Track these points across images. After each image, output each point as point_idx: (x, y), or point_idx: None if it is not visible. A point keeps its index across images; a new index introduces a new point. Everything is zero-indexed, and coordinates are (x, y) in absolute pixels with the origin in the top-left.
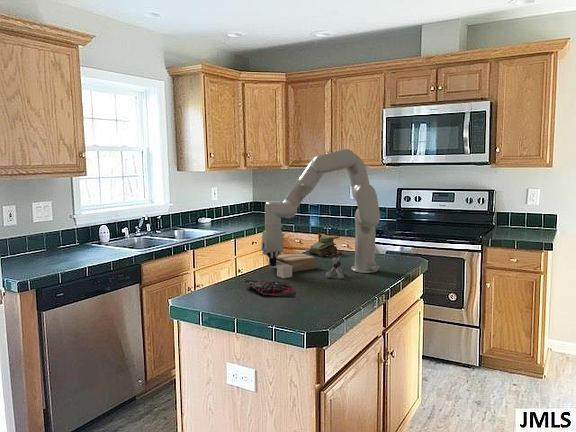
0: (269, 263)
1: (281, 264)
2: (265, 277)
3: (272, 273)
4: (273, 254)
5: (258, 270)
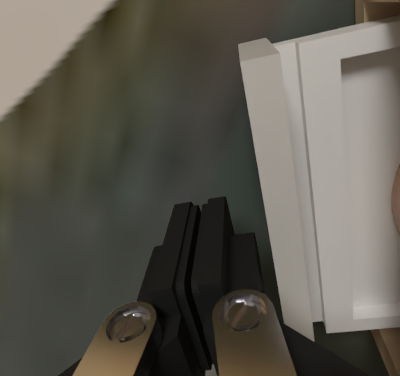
0: (157, 252)
1: None
2: None
3: None
4: (236, 358)
5: (47, 121)
